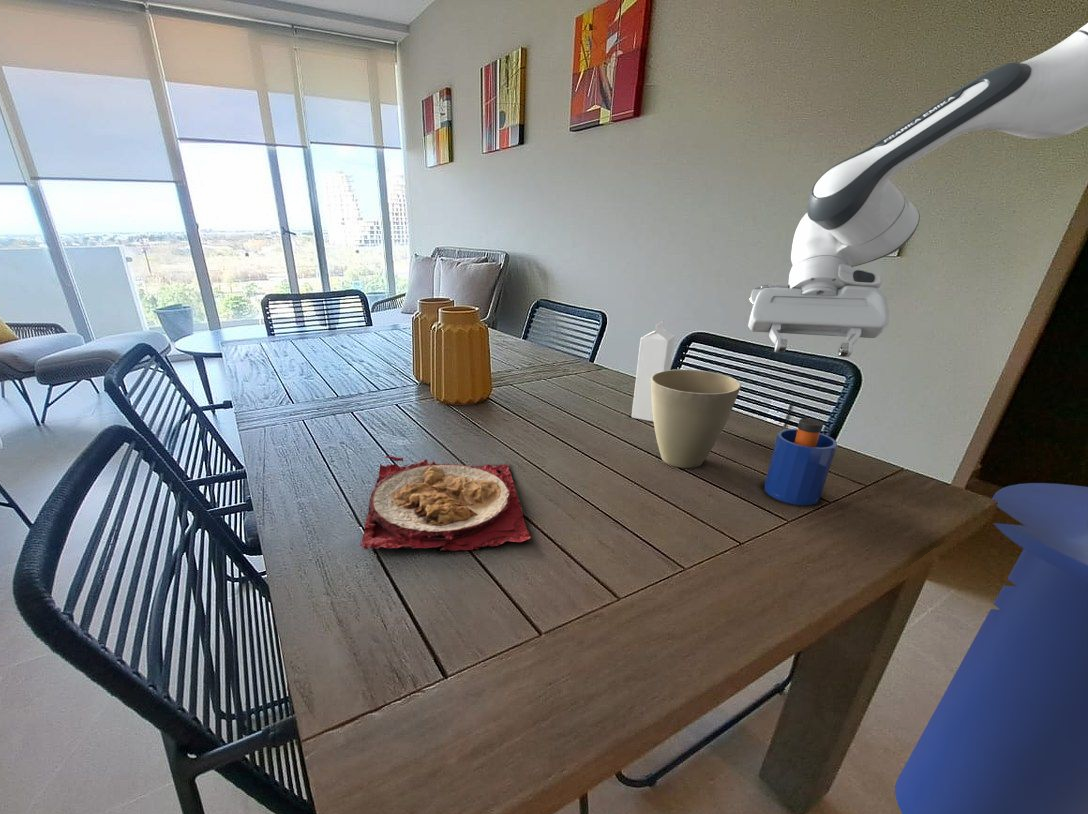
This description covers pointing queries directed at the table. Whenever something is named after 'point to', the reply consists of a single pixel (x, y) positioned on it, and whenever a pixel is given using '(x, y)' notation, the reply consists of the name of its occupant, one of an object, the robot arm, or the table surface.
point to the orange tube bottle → (808, 432)
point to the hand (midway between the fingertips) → (812, 352)
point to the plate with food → (443, 507)
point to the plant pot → (690, 413)
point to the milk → (651, 368)
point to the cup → (799, 469)
